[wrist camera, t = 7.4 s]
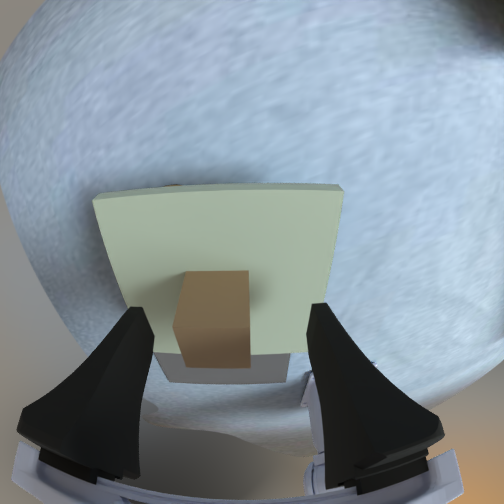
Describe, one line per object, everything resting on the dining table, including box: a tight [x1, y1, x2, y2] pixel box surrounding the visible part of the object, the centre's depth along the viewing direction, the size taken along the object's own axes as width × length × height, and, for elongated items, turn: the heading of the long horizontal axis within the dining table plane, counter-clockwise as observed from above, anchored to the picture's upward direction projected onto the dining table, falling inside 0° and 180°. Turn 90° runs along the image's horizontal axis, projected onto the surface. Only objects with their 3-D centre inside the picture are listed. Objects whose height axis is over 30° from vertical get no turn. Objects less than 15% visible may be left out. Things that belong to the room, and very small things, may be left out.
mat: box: [154, 352, 290, 384], centre depth 24 cm, size 13×13×1 cm
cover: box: [92, 183, 344, 369], centre depth 12 cm, size 11×11×4 cm
